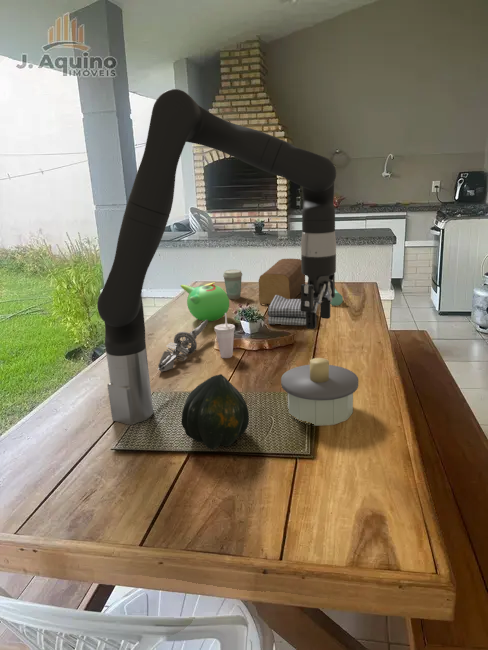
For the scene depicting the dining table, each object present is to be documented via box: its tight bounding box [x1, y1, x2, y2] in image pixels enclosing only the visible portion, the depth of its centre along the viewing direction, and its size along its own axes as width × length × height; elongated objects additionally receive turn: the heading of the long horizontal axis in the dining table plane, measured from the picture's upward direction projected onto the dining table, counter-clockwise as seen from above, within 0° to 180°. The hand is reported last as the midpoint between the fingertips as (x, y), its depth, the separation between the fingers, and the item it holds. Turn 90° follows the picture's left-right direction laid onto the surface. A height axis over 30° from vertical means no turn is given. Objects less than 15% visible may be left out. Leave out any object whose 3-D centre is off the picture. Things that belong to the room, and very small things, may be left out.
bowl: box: [287, 393, 354, 427], centre depth 123 cm, size 15×15×7 cm
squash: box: [180, 373, 250, 450], centre depth 112 cm, size 14×15×15 cm
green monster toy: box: [180, 281, 230, 323], centre depth 197 cm, size 18×17×15 cm
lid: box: [280, 357, 359, 400], centre depth 121 cm, size 18×18×6 cm
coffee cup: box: [222, 269, 243, 300], centre depth 228 cm, size 8×9×12 cm
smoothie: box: [214, 312, 236, 359], centre depth 159 cm, size 6×6×14 cm
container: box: [330, 288, 344, 307], centre depth 221 cm, size 6×6×25 cm
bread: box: [258, 258, 306, 305], centre depth 227 cm, size 14×34×14 cm, turn 163°
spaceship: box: [157, 320, 209, 373], centre depth 163 cm, size 8×35×8 cm
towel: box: [267, 295, 306, 326], centre depth 194 cm, size 15×18×8 cm
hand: (318, 323), depth 117 cm, fingers open, 8 cm apart
